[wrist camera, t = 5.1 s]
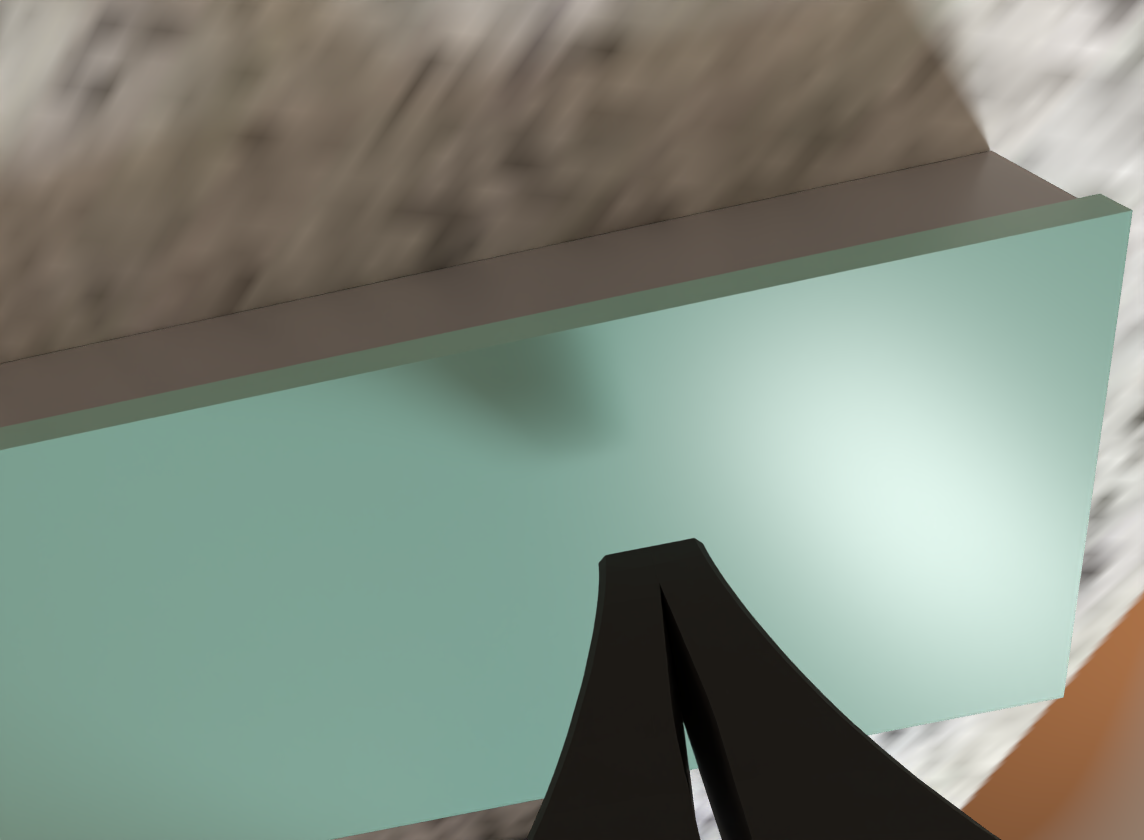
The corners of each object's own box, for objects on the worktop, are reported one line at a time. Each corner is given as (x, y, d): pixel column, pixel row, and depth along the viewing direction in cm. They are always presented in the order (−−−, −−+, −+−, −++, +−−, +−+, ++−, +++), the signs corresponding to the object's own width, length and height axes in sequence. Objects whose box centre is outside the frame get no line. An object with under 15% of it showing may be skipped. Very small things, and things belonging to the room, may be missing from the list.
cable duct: (967, 566, 22) (1048, 683, 19) (126, 735, 23) (67, 874, 20) (991, 150, 17) (1110, 216, 14) (-117, 389, 18) (-253, 505, 14)
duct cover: (1042, 667, 19) (1063, 697, 18) (63, 859, 20) (47, 894, 19) (1099, 193, 13) (1132, 210, 13) (-257, 481, 14) (-295, 512, 14)
